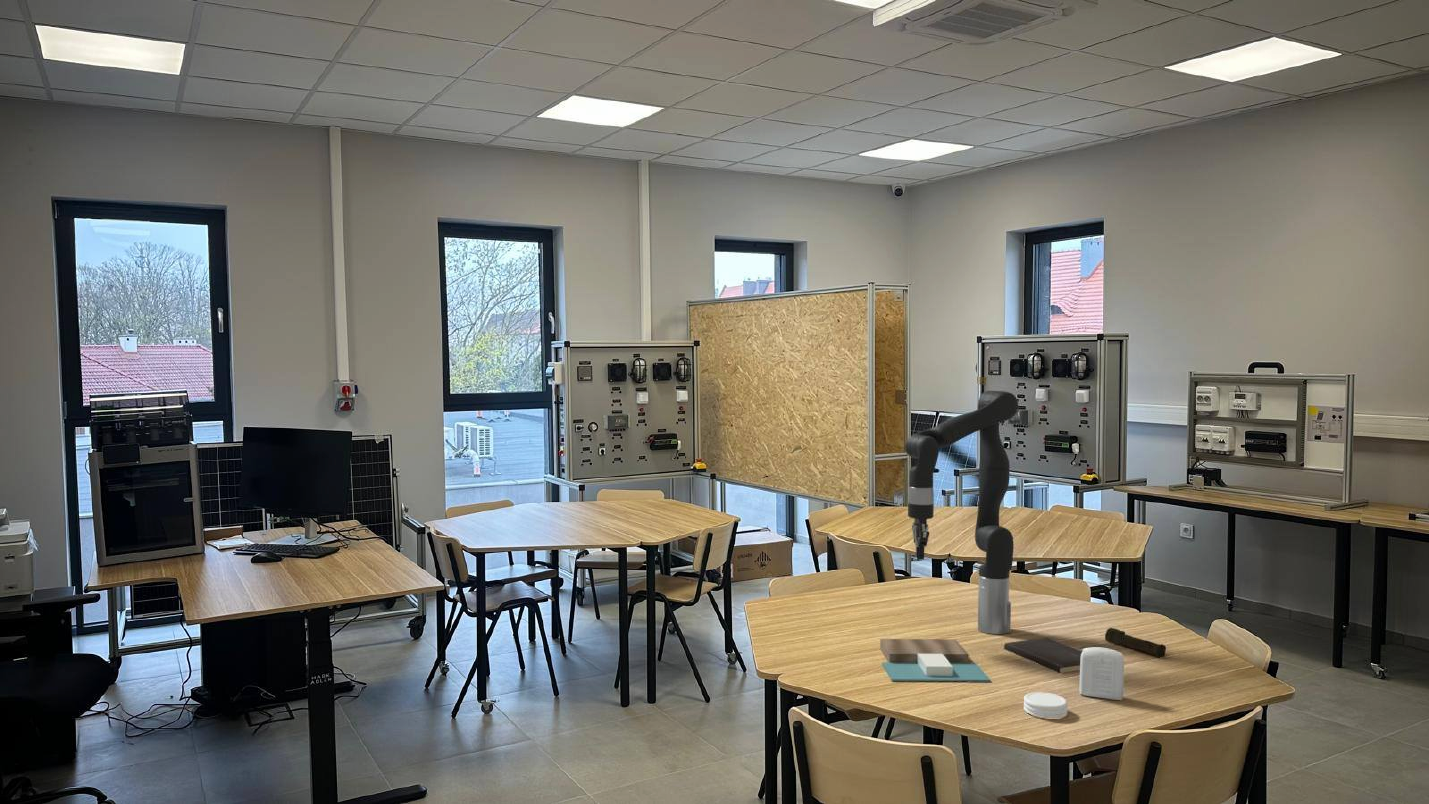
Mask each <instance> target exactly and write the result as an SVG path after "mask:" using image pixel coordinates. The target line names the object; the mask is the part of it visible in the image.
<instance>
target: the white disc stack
mask: <svg viewBox="0 0 1429 804" xmlns="http://www.w3.org/2000/svg"><path fill="white" fill-rule="evenodd" d="M1023 700H1024V701H1023V711H1024V710H1025V711H1026V712H1027V713H1029V714H1031V715H1034V716H1037V717H1042V718H1051V719H1052V718H1053V719H1054V718H1062V717H1065V716H1066V715H1067V716H1068V705H1069V703H1068V701H1067V699H1066V698H1064V697H1062V696H1061V695H1059V694H1054V693H1052V692H1051V693H1050V692H1040V691H1035V692H1034V691H1033V692H1029V693H1027V694H1025V695H1024V697H1023ZM1025 711H1024V712H1025ZM1026 712H1025V713H1026ZM1027 713H1026V714H1027ZM1029 714H1028V715H1029ZM1031 715H1030V716H1031ZM1067 716H1066V717H1067ZM1066 717H1065V718H1066Z"/></svg>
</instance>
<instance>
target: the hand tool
mask: <svg viewBox="0 0 1429 804" xmlns="http://www.w3.org/2000/svg"><path fill="white" fill-rule="evenodd" d="M1104 638H1105V639H1104V640H1105V641H1106V642H1108V643H1109V644H1112V645H1115V646H1117V645H1118V646H1117V647H1123V646H1124V647H1127V648H1131V649H1133V650H1137V651H1140V652H1143V653H1146V654H1148V655H1151V656H1155V657H1156V659H1161V658H1160V657H1162V658H1164V657H1165V655H1166V651H1167V650H1166V649H1167V647H1166V645H1164V644H1163V643H1162V644H1161V643H1156V642H1153V641H1150V640H1145V639H1143V638H1142V639H1141V638H1137V637H1135V636H1132V635H1129V634H1126V631H1123V630H1120V629H1118V628H1114V627H1109V628H1108V629H1106V632H1105V635H1104Z"/></svg>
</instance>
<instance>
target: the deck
mask: <svg viewBox="0 0 1429 804" xmlns="http://www.w3.org/2000/svg"><path fill="white" fill-rule="evenodd" d="M879 641H880V642H879V643H880V649H879V650H880V651H881V653H882V652H883V653H882V654H883V656H884V658H885V659H886V662H917V654H943V655H944V656H945V658H946V659H947V660H948V661H949V663H969V656H970V655H969V653H968V652H967V651H966V649H965V648H964V647H963V646H962V645H961V644H960V643H959V641H957V639H952V638H951V639H950V638H949V639H948V638H946V639H944V638H943V639H938V638H936V639H933V638H931V639H929V638H926V639H924V638H923V639H922V638H915V639H914V638H880V639H879Z"/></svg>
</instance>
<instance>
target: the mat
mask: <svg viewBox="0 0 1429 804" xmlns="http://www.w3.org/2000/svg"><path fill="white" fill-rule="evenodd" d="M950 664H951V665H952V666H953V676H926V675H925V673H924V672H923V670H922V669H921V667H920V666H919V664H918V663H917V662H888V661H883V662H882V663H881V665H882V667H883V669H884V670H885V672H886V674H887V675H888V677H890V678H891V679H890V678H889V679H890V681H891V680H892V681H971V682H970V683H991V678H989V677H988V675H987V674H986V673H985V672H984V671H983V670H982V668H981V667H980V666H979V665H978V664H977V663H976V662H968V663H950ZM892 681H891V682H892Z"/></svg>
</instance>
